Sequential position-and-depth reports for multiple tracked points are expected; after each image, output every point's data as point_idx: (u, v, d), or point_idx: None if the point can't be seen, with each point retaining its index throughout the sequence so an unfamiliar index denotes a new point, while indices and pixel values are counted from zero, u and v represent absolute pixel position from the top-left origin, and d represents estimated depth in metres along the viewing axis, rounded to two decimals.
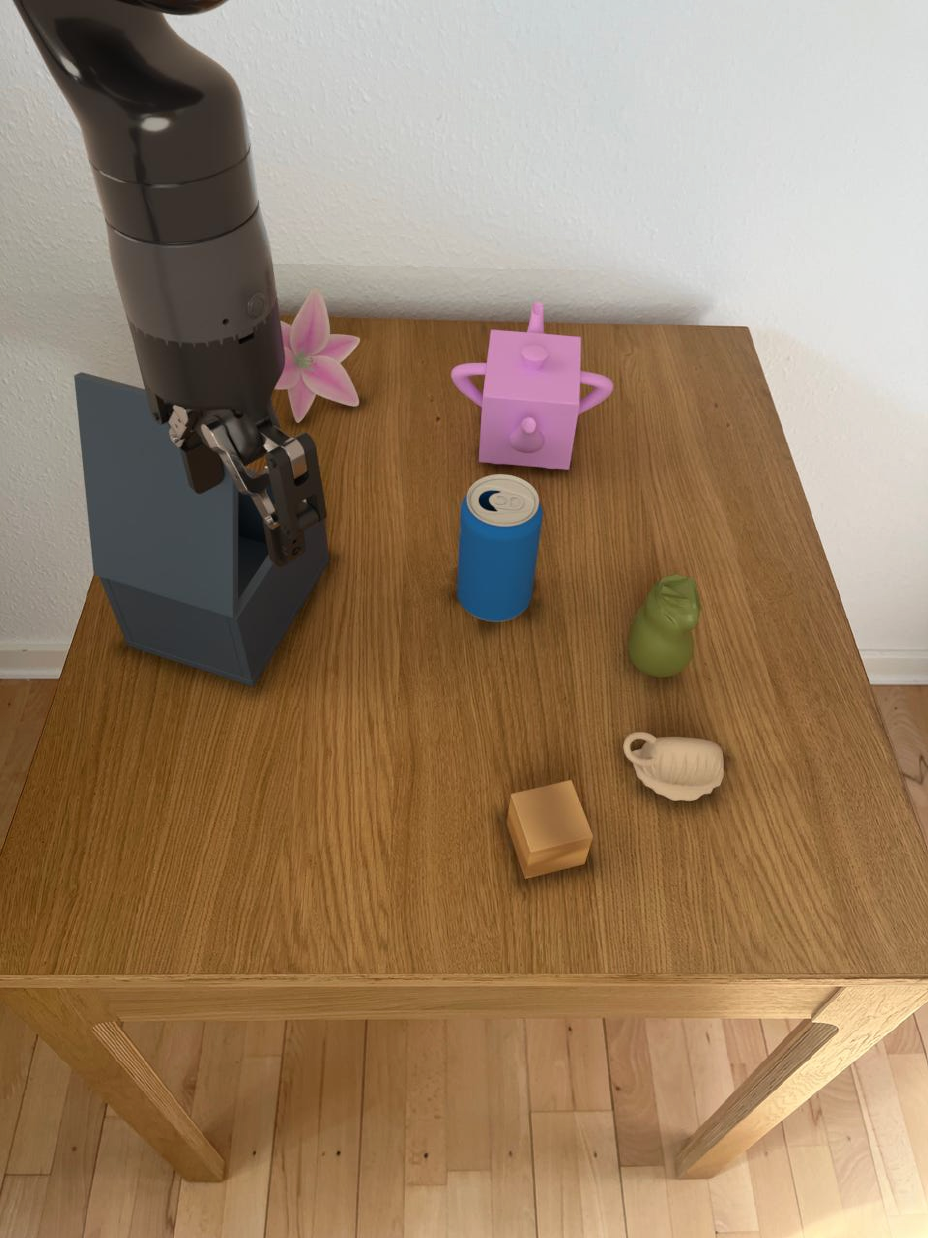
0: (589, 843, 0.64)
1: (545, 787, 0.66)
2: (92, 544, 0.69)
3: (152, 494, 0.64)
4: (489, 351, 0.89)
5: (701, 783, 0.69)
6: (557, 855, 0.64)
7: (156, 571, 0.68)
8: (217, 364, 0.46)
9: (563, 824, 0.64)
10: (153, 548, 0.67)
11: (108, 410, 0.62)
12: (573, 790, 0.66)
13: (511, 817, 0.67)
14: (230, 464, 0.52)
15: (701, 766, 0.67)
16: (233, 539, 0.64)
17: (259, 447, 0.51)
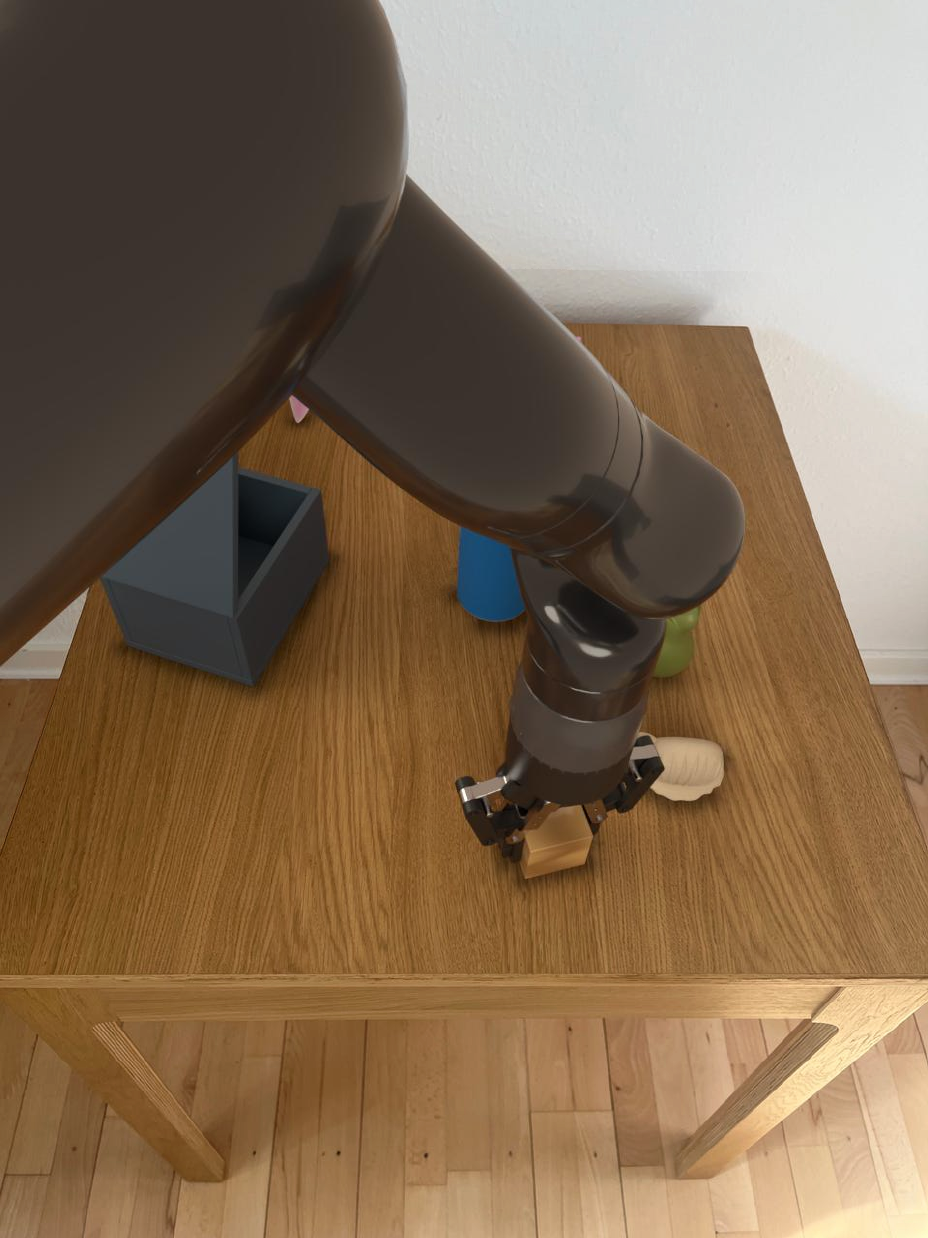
0: (589, 843, 0.64)
1: None
2: None
3: None
4: None
5: (701, 783, 0.69)
6: (557, 855, 0.64)
7: (156, 571, 0.68)
8: None
9: (563, 824, 0.64)
10: (153, 548, 0.67)
11: None
12: None
13: None
14: (597, 803, 0.61)
15: (701, 766, 0.67)
16: (233, 539, 0.64)
17: None
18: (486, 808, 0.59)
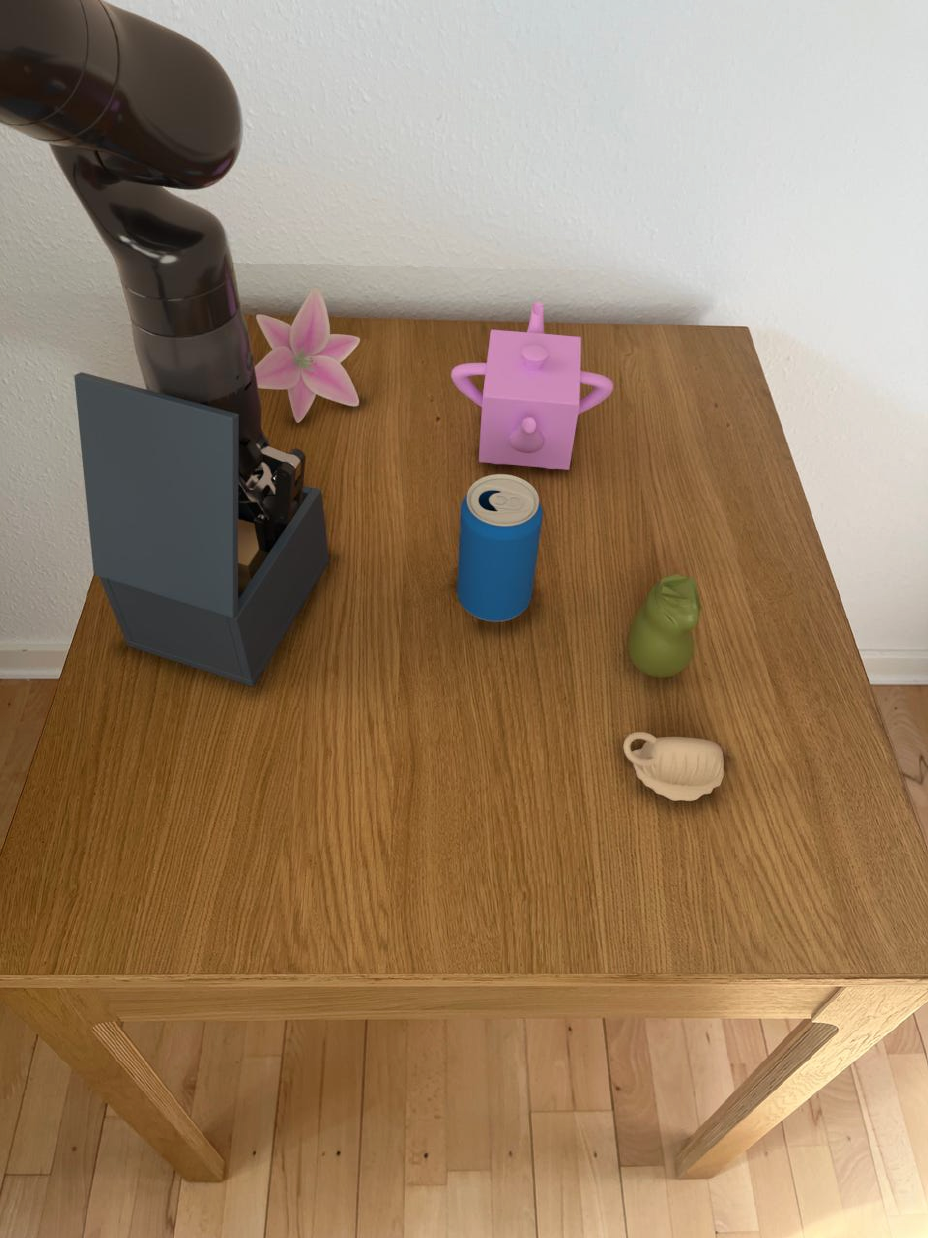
0: (248, 573, 0.77)
1: (250, 523, 0.79)
2: (92, 544, 0.69)
3: (152, 494, 0.64)
4: (489, 351, 0.89)
5: (701, 783, 0.69)
6: None
7: (156, 571, 0.68)
8: (234, 409, 0.64)
9: None
10: (153, 548, 0.67)
11: (108, 410, 0.62)
12: None
13: None
14: None
15: (701, 766, 0.67)
16: (233, 539, 0.64)
17: (261, 462, 0.69)
18: None
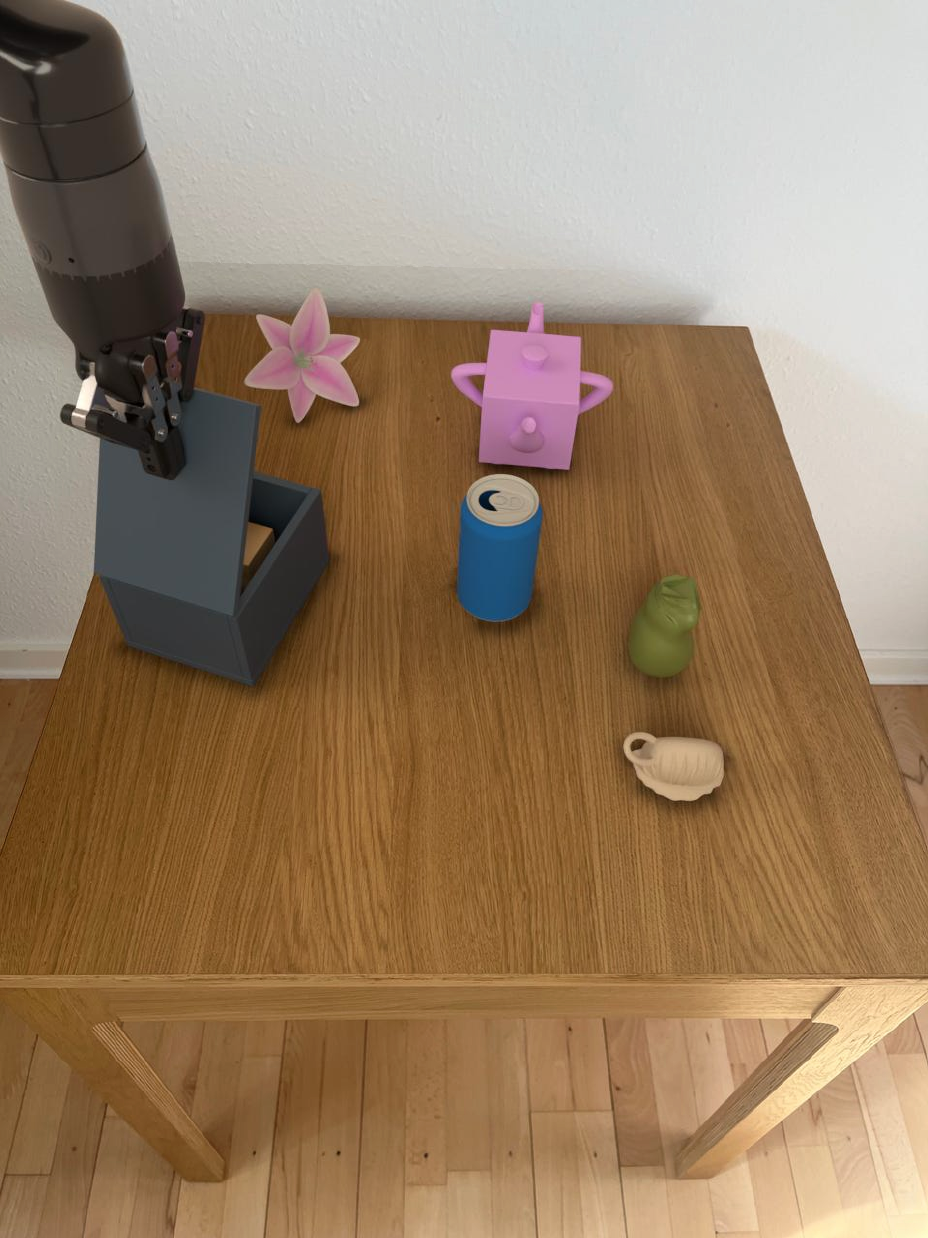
0: (248, 573, 0.77)
1: (250, 523, 0.79)
2: (97, 541, 0.69)
3: (166, 486, 0.66)
4: (489, 351, 0.89)
5: (701, 783, 0.69)
6: None
7: (159, 567, 0.68)
8: None
9: None
10: (159, 543, 0.68)
11: None
12: (266, 534, 0.79)
13: None
14: (175, 366, 0.59)
15: (701, 766, 0.67)
16: (242, 532, 0.65)
17: None
18: (107, 412, 0.55)
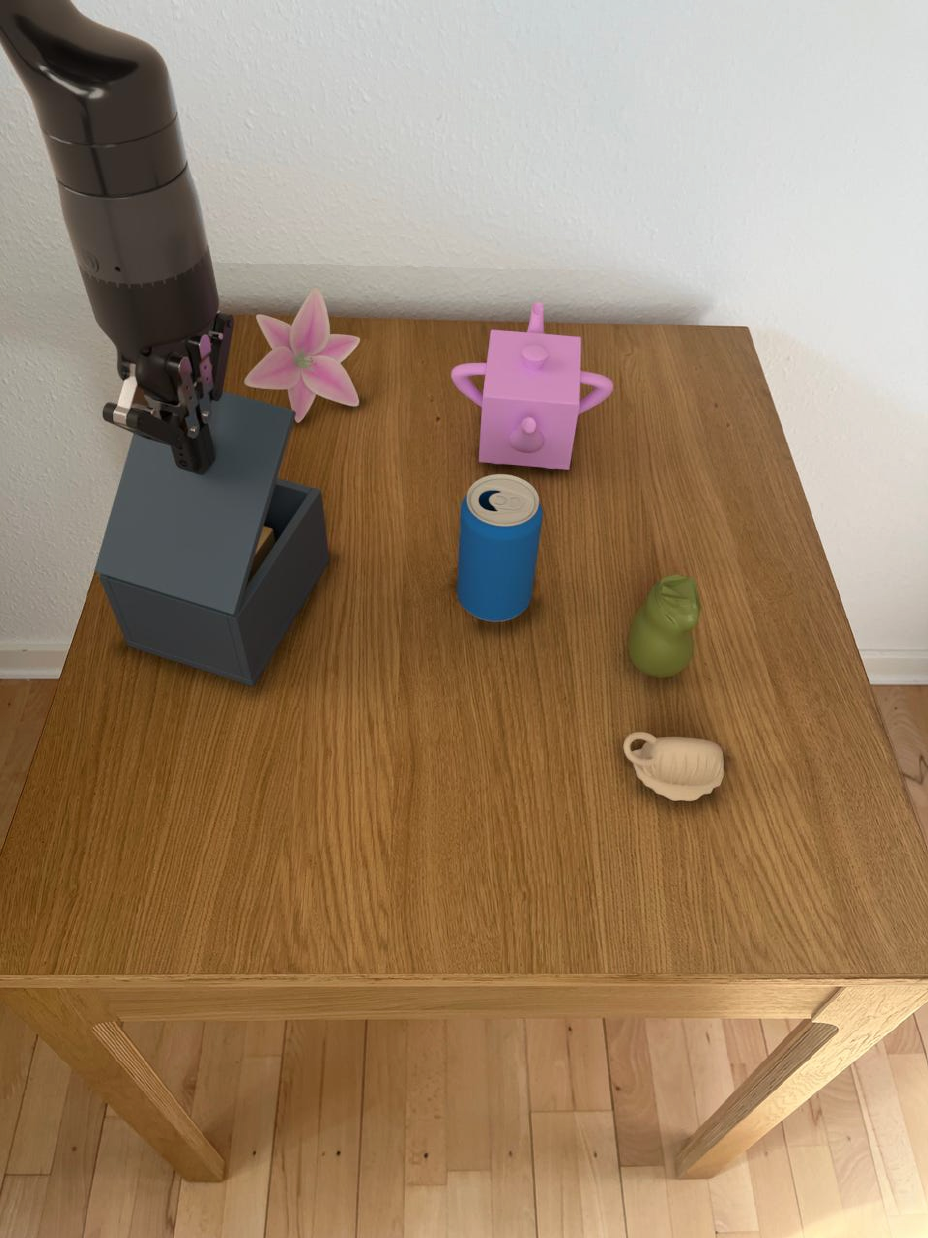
0: None
1: None
2: (105, 538, 0.70)
3: (189, 483, 0.69)
4: (489, 351, 0.89)
5: (701, 783, 0.69)
6: None
7: (166, 564, 0.69)
8: None
9: None
10: (171, 540, 0.69)
11: None
12: (266, 534, 0.79)
13: None
14: (207, 367, 0.62)
15: (701, 766, 0.67)
16: (258, 528, 0.68)
17: None
18: (145, 410, 0.59)
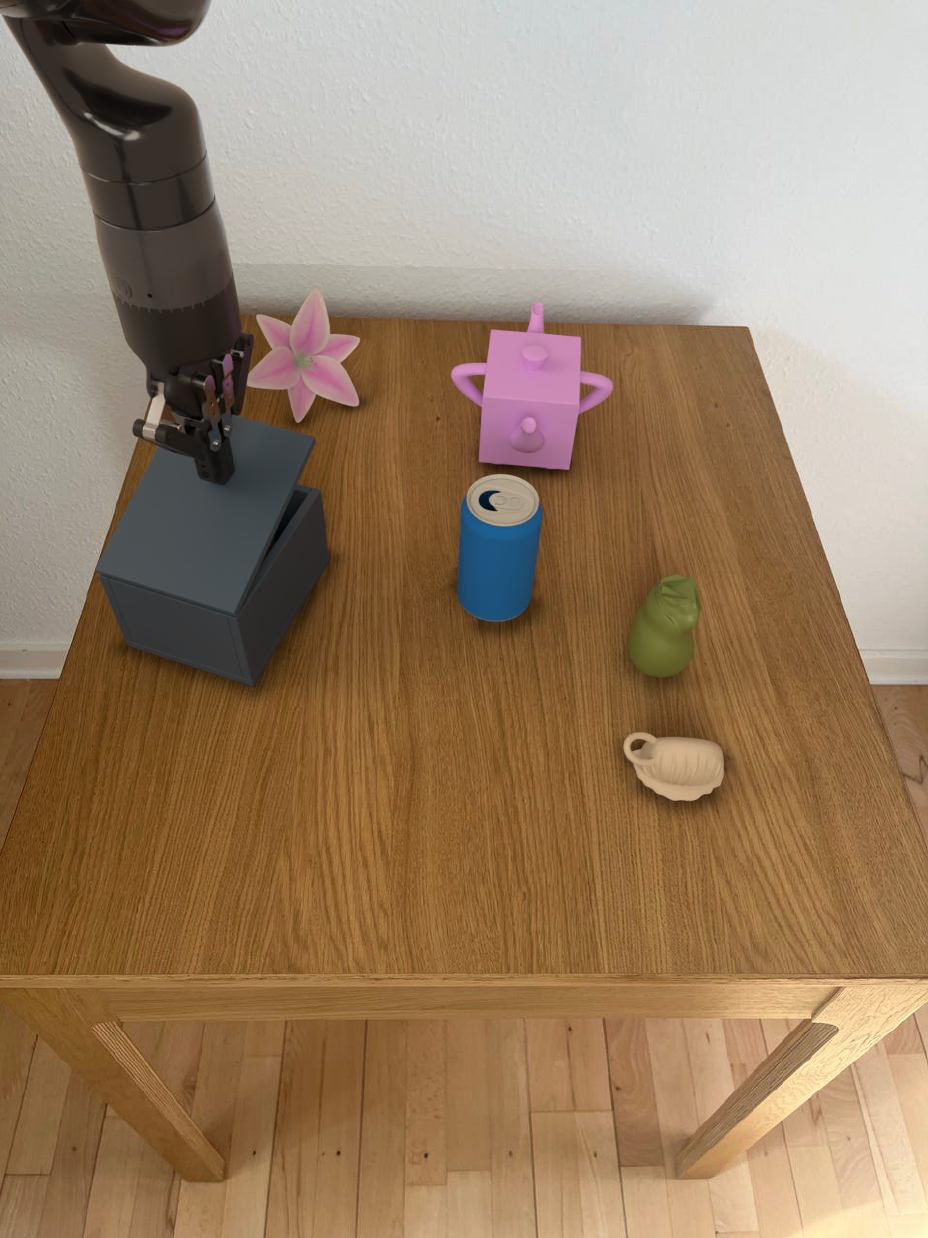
0: None
1: None
2: (112, 539, 0.71)
3: (205, 494, 0.72)
4: (489, 351, 0.89)
5: (701, 783, 0.69)
6: None
7: (170, 565, 0.70)
8: None
9: None
10: (179, 543, 0.70)
11: None
12: None
13: None
14: (229, 384, 0.66)
15: (701, 766, 0.67)
16: (269, 535, 0.70)
17: None
18: (172, 426, 0.62)
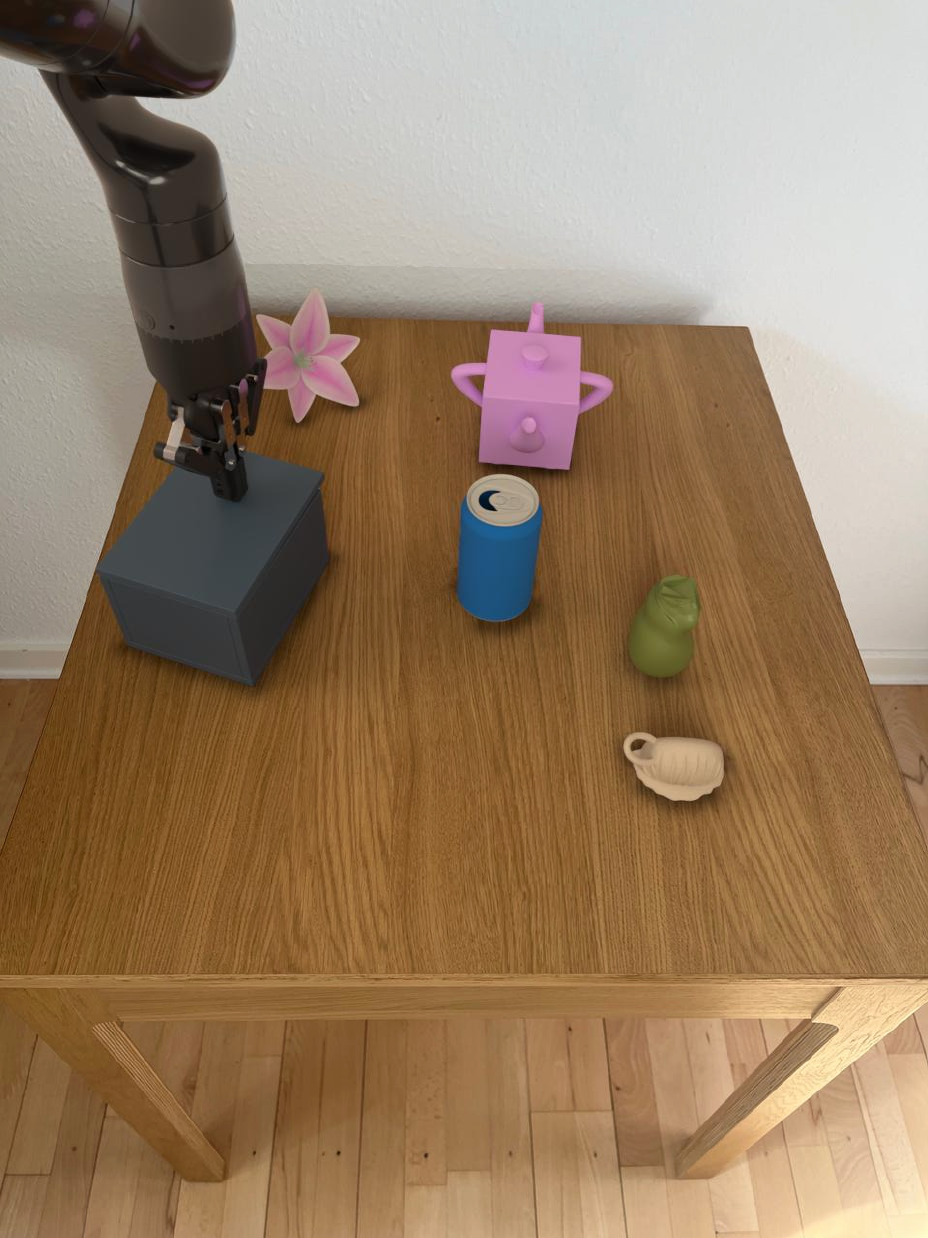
0: None
1: None
2: (116, 544, 0.72)
3: (214, 512, 0.74)
4: (489, 351, 0.89)
5: (701, 783, 0.69)
6: None
7: (174, 568, 0.70)
8: None
9: None
10: (184, 550, 0.71)
11: None
12: None
13: None
14: (244, 407, 0.69)
15: (701, 766, 0.67)
16: (275, 548, 0.72)
17: None
18: (191, 448, 0.65)
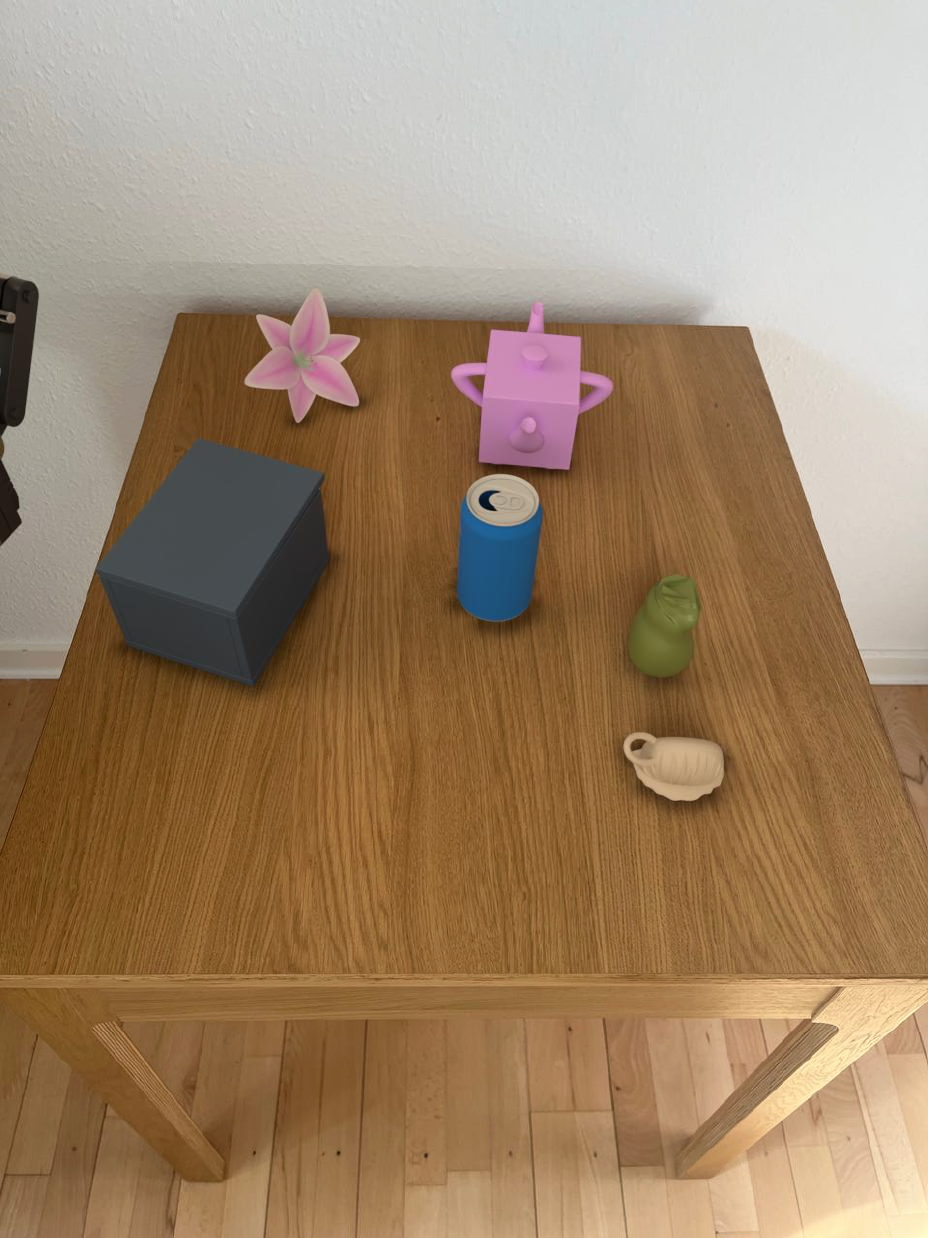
0: None
1: None
2: (116, 544, 0.72)
3: (214, 512, 0.74)
4: (489, 351, 0.89)
5: (701, 783, 0.69)
6: None
7: (174, 568, 0.70)
8: None
9: None
10: (184, 550, 0.71)
11: (213, 459, 0.77)
12: None
13: None
14: None
15: (701, 766, 0.67)
16: (275, 548, 0.72)
17: None
18: None
